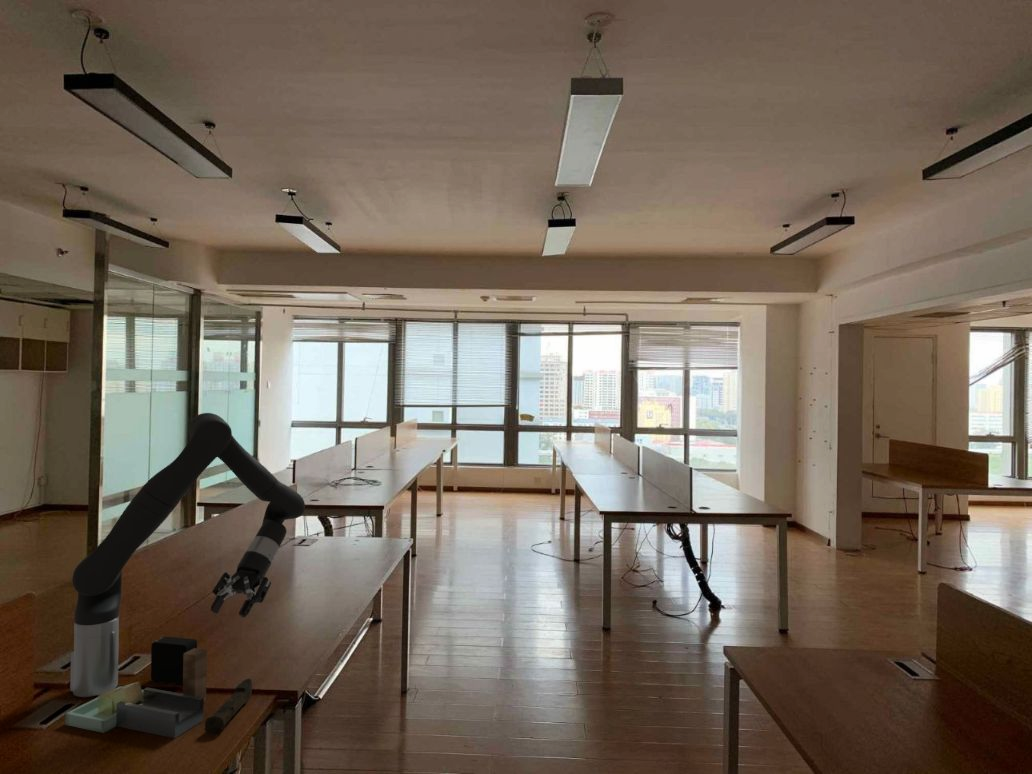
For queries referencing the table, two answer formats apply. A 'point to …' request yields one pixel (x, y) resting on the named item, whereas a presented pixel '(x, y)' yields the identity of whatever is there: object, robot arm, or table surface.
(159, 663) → the electronic device
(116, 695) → the pale yellow cube
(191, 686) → the tan wooden block
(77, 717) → the tray
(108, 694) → the tan cube
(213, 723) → the hand tool
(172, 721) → the slot rail
